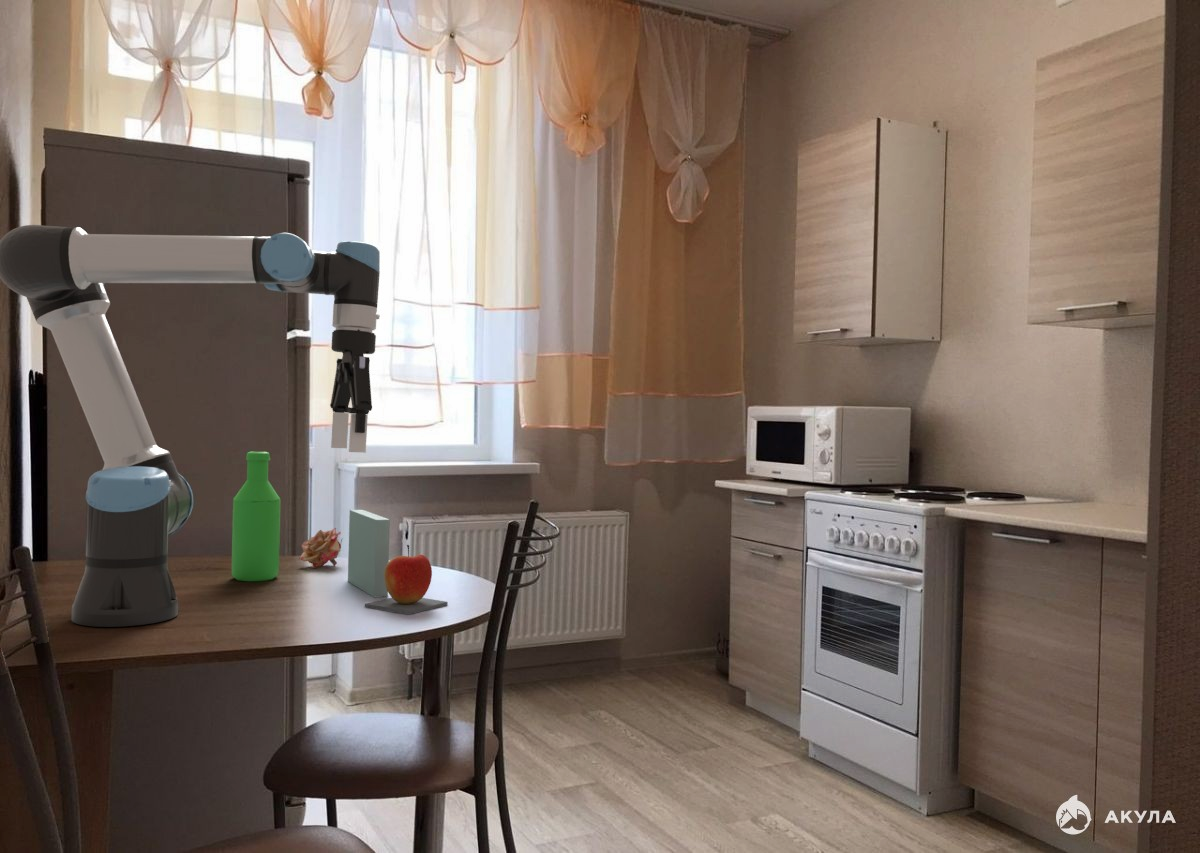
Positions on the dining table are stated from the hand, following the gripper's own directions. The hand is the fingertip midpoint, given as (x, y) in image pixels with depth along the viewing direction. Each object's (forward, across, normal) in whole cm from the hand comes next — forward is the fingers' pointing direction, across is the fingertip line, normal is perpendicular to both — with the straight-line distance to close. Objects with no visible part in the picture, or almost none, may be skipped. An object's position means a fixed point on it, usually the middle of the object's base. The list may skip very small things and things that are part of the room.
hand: (347, 450), depth 172 cm
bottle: (+27, +26, +10) cm, 39 cm away
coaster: (+26, -9, -9) cm, 29 cm away
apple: (+26, -10, -9) cm, 29 cm away
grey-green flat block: (+26, +9, -7) cm, 29 cm away
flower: (+27, +37, -4) cm, 46 cm away
